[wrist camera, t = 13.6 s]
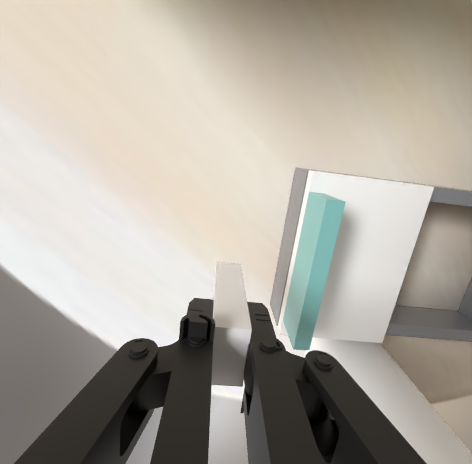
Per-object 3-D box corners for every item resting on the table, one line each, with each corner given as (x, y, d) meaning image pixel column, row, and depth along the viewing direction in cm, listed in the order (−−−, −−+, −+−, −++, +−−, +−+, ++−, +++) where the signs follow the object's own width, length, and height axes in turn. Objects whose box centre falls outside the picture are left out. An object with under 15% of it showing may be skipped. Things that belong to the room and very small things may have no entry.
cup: (389, 356, 30) (558, 563, 15) (329, 393, 31) (430, 621, 16) (353, 308, 28) (507, 490, 13) (290, 349, 29) (363, 562, 14)
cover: (308, 170, 20) (332, 174, 16) (424, 185, 21) (477, 193, 17) (277, 327, 24) (289, 366, 20) (376, 335, 25) (408, 374, 20)
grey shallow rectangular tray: (295, 167, 24) (307, 169, 20) (516, 196, 26) (562, 203, 22) (270, 304, 28) (276, 325, 24) (464, 321, 29) (496, 343, 26)
